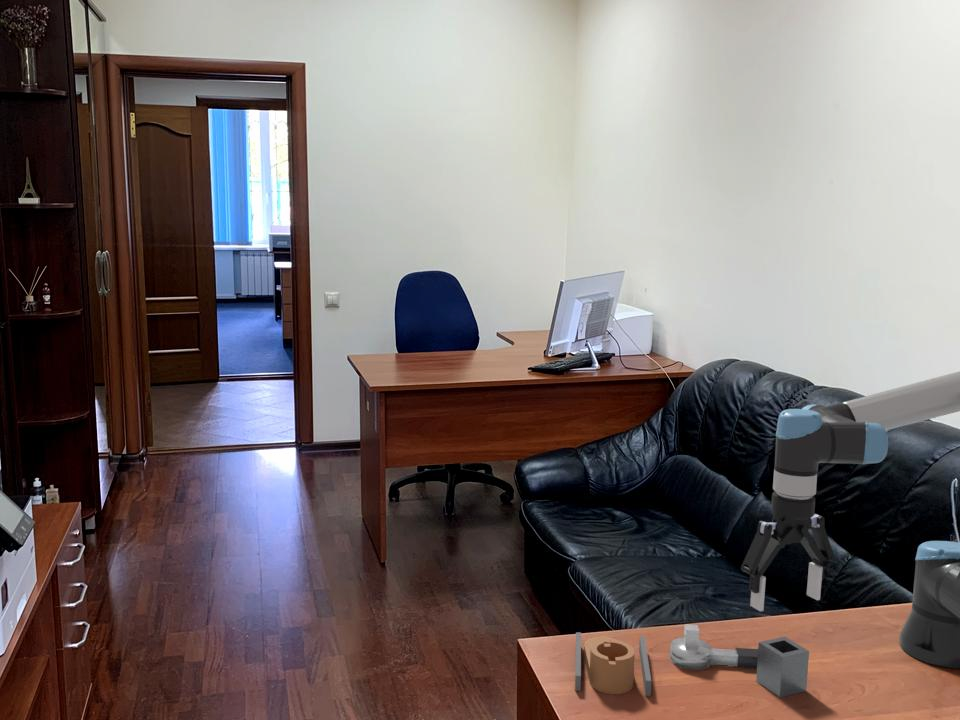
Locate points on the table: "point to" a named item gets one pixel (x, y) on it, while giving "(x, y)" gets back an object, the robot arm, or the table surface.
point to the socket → (782, 666)
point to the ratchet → (707, 653)
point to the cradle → (642, 658)
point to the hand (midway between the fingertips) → (785, 602)
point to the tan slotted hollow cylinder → (609, 664)
